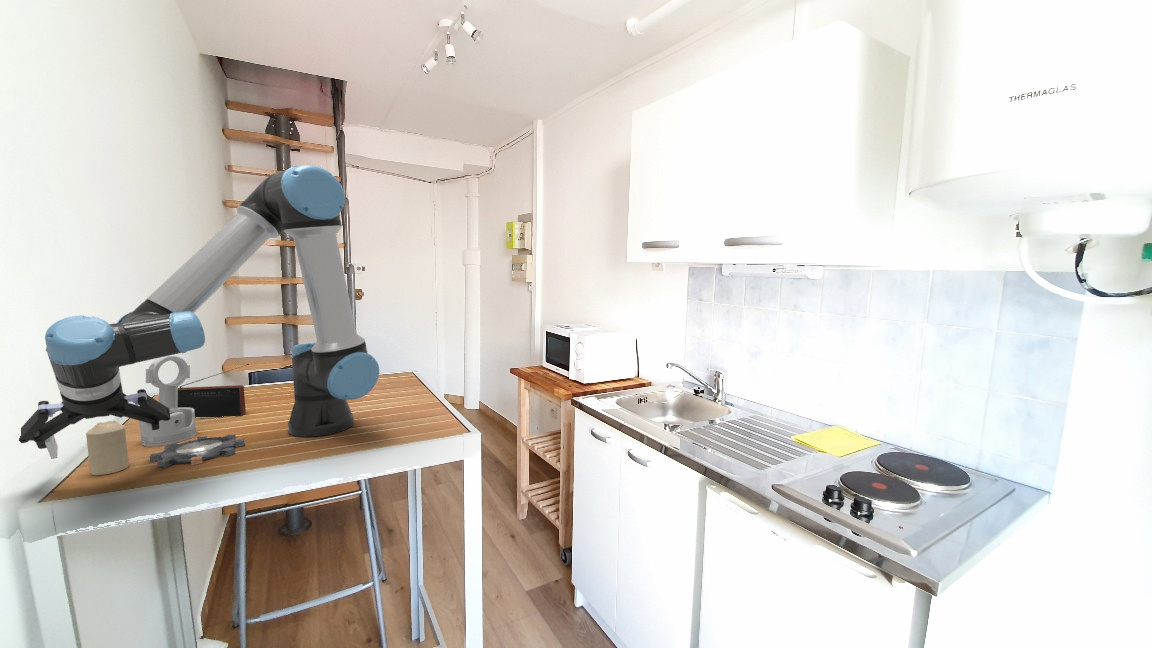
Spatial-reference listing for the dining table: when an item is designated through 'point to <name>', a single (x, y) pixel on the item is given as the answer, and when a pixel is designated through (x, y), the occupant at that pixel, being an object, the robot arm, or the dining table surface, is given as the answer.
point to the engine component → (170, 406)
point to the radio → (213, 400)
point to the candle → (107, 448)
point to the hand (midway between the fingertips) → (104, 444)
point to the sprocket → (197, 450)
